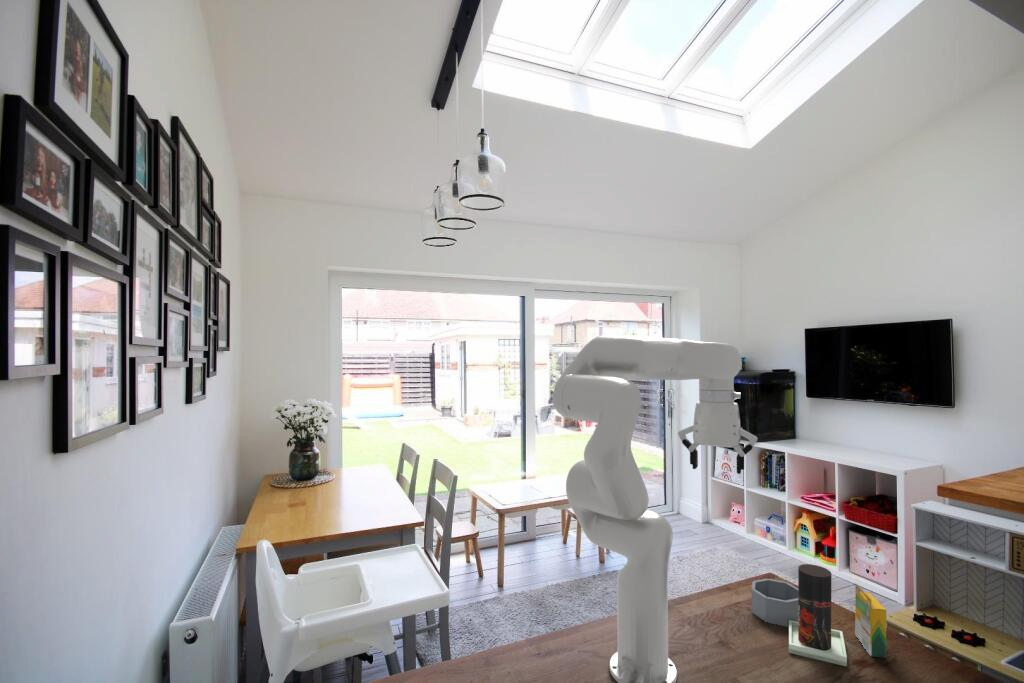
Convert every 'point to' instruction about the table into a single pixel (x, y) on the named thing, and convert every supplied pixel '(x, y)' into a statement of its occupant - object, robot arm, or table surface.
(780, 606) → the grey octagonal container
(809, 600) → the deodorant
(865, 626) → the crayon box
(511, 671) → the table surface
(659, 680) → the robot arm
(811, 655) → the tray
